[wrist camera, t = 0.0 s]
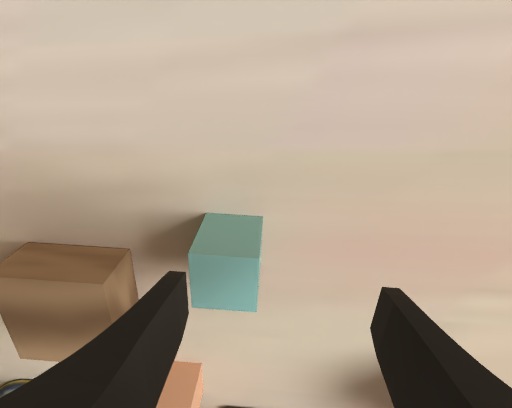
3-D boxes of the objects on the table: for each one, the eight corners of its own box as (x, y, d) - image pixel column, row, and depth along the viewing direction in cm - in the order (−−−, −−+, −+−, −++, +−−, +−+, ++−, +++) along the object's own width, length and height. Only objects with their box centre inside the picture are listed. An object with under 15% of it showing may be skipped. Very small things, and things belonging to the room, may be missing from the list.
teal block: (260, 262, 23) (256, 312, 19) (208, 259, 23) (191, 307, 19) (262, 216, 21) (259, 258, 17) (206, 212, 22) (187, 253, 17)
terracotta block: (203, 390, 30) (190, 448, 26) (163, 386, 31) (144, 443, 26) (201, 363, 29) (187, 420, 24) (159, 359, 29) (137, 416, 24)
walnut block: (142, 325, 27) (122, 366, 23) (54, 318, 27) (20, 358, 23) (129, 249, 23) (102, 284, 20) (28, 242, 24) (-17, 275, 20)
